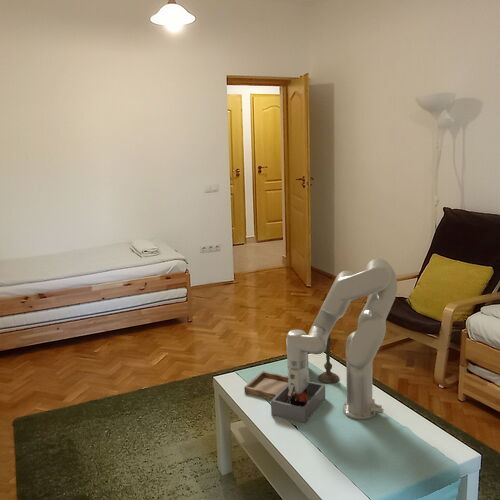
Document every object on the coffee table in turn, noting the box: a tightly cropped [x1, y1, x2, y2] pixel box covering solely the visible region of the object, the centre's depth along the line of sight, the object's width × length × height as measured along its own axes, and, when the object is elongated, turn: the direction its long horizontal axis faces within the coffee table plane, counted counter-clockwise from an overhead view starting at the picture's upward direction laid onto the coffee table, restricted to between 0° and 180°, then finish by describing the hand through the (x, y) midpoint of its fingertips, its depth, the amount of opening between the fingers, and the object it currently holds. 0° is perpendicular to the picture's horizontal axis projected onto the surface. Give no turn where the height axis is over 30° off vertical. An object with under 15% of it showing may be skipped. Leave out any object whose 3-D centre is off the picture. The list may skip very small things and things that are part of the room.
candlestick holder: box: [317, 333, 340, 385], centre depth 206 cm, size 9×9×30 cm
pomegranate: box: [288, 390, 309, 407], centre depth 188 cm, size 7×7×10 cm
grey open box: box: [270, 380, 326, 425], centre depth 188 cm, size 14×20×6 cm
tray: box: [243, 370, 288, 401], centre depth 204 cm, size 16×16×3 cm
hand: (298, 403), depth 189 cm, fingers closed on pomegranate, 7 cm apart
